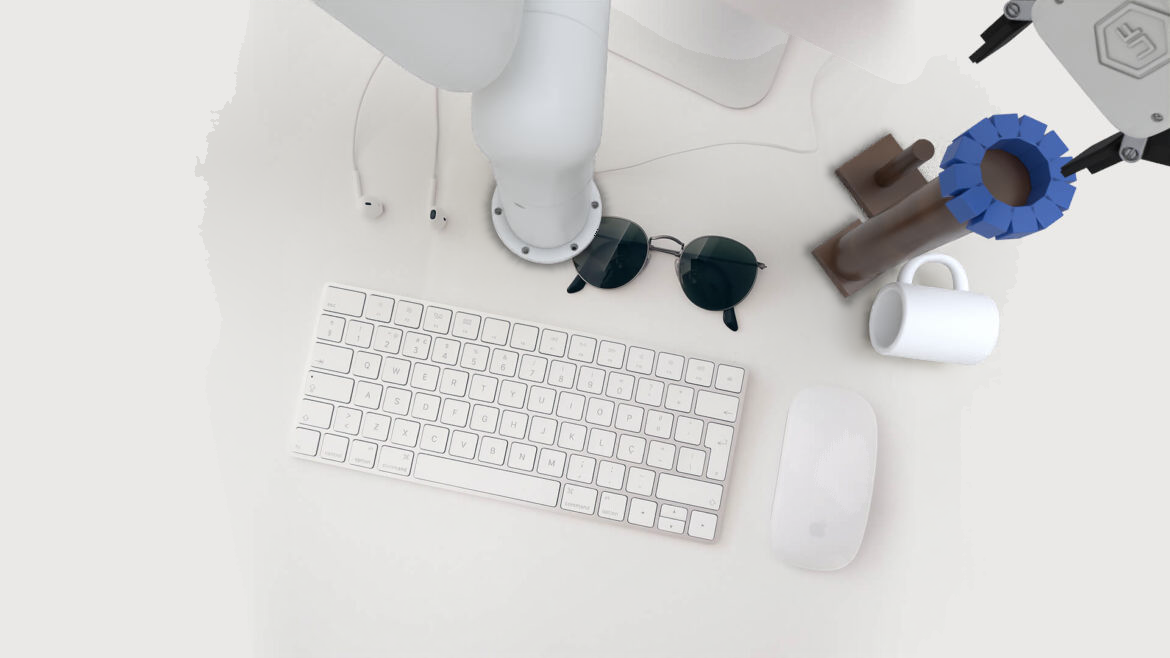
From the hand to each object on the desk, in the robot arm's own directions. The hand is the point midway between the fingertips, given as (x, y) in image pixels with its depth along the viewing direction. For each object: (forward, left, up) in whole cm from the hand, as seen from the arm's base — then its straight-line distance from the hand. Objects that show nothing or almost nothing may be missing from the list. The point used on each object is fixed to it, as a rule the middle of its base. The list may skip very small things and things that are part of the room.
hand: (1031, 106), depth 43 cm
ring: (+3, 0, -6) cm, 7 cm away
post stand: (-2, +9, -31) cm, 33 cm away
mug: (+12, +2, -32) cm, 34 cm away
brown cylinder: (+3, 0, -31) cm, 31 cm away
